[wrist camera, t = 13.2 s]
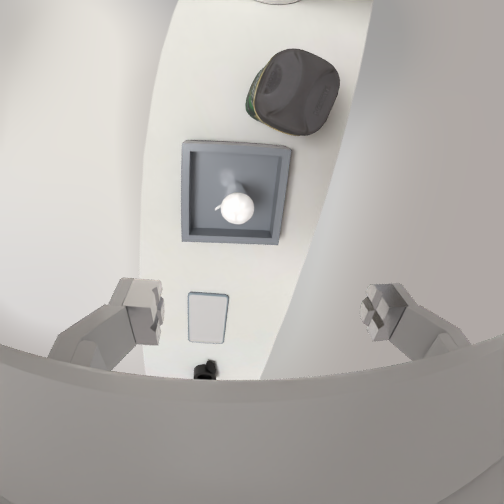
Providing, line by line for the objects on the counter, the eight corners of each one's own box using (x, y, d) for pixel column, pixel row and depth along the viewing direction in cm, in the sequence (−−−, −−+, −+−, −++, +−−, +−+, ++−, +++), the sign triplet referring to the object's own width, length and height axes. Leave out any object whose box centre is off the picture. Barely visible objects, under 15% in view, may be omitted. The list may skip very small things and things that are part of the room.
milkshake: (220, 174, 43) (218, 192, 34) (252, 181, 44) (259, 201, 35) (213, 200, 45) (211, 224, 36) (245, 207, 46) (250, 233, 37)
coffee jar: (260, 61, 35) (283, 31, 19) (306, 80, 37) (357, 67, 21) (237, 115, 39) (245, 119, 23) (284, 132, 41) (321, 150, 25)
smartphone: (188, 342, 62) (187, 293, 54) (188, 339, 63) (188, 290, 55) (223, 344, 63) (229, 296, 55) (223, 341, 64) (229, 293, 56)
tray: (185, 140, 41) (182, 143, 37) (285, 146, 43) (291, 149, 39) (184, 231, 48) (181, 241, 45) (274, 234, 50) (278, 245, 47)
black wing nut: (228, 370, 69) (229, 378, 67) (200, 382, 71) (200, 390, 69) (210, 356, 66) (210, 365, 63) (181, 369, 68) (180, 377, 65)
